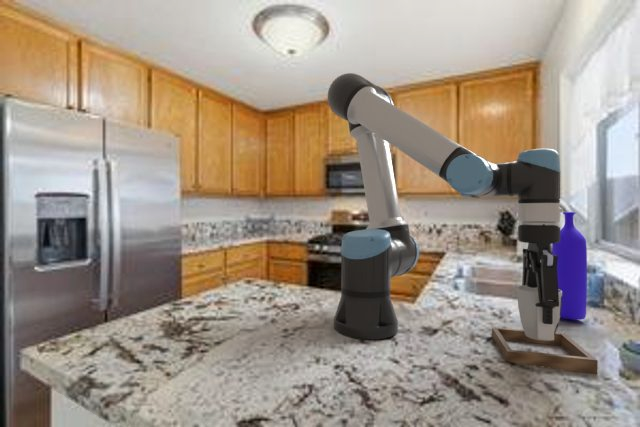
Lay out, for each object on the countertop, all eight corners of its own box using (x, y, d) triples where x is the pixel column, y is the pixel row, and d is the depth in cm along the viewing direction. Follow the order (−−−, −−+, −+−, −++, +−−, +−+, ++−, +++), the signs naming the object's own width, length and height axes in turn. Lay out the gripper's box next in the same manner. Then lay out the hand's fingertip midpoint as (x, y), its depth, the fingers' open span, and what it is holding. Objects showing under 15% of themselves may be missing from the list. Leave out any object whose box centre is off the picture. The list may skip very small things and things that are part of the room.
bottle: (555, 318, 99) (555, 211, 99) (548, 310, 106) (548, 211, 106) (591, 321, 96) (591, 211, 95) (581, 313, 103) (581, 211, 103)
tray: (507, 364, 69) (507, 351, 69) (491, 337, 83) (491, 327, 83) (597, 373, 65) (597, 360, 65) (564, 344, 79) (564, 333, 79)
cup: (570, 345, 69) (570, 294, 69) (525, 342, 71) (524, 292, 71) (551, 331, 77) (551, 286, 77) (511, 329, 79) (511, 284, 79)
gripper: (581, 225, 63) (581, 352, 63) (542, 222, 83) (542, 319, 83) (534, 225, 65) (534, 348, 65) (506, 222, 85) (507, 317, 85)
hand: (538, 332), depth 74 cm, fingers closed on cup, 7 cm apart
